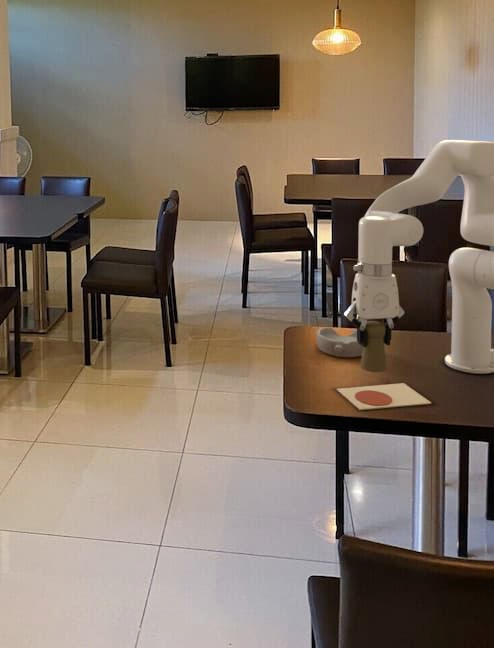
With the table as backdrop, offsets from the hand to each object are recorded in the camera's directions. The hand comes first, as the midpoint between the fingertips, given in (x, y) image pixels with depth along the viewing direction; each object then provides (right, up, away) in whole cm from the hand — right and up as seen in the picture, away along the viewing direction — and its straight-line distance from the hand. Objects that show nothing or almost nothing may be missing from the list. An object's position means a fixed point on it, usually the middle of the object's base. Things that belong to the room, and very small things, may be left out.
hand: (373, 343), depth 174 cm
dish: (+3, -11, +34) cm, 36 cm away
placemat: (+3, -13, +3) cm, 14 cm away
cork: (0, -6, 0) cm, 6 cm away
